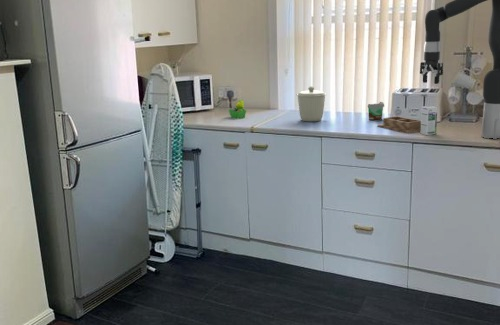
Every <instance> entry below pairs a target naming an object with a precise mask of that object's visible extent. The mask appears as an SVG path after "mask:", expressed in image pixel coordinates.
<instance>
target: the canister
mask: <svg viewBox="0 0 500 325" xmlns="http://www.w3.org/2000/svg"><path fill="white" fill-rule="evenodd" d="M307 89H308V90H302V91H300V92H298V93H297V94H296V96H297V103H298V112H299V116H300V120H301V121H304V122H319V121H321V120H322V119H323V117H324V116H323V115H324V109H325V99H326V96H327V93H326V92H324V91H323V90H315V87H314V86H309V87H308V88H307Z"/></svg>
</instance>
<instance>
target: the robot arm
mask: <svg viewBox="0 0 500 325" xmlns="http://www.w3.org/2000/svg"><path fill="white" fill-rule="evenodd" d="M487 1H488V0H452V1H449V2H447V3H445V4H444V5H443V6H441V7H438V8H436V9H430V10H429V11H427V13H426V14H425V16H424V25H425V27H424V28H425V38H424V39H425V40H424V41H425V42H424V46H423V47H424V48H423V52H424V53H423V60H424V61H422V62H420V63H419V64H420V65H419V74H421V76H422V84H424V83H428V74H429V73H430V72H432V74H433V75H434V80H433V83H434V84H435V85H438V84H439V83H440V76H443V75H444V63H443V62H439V61H440V57H441V31H440V23H441V22H444V21H446V20H448V19H450V18H452V17H454V16H457V15H460V14H462V13H464V12H467V11H468V10H470V9H472V8H474V7H475V6H477V5H479V4H482V3H484V2H487ZM490 14H491V15H490V19H489V24H488V40H487V41H488V47H489V49H490V52H491V55H492V59H493V60H492V61H493V63H492V64H493V65H492V69H491V70H489V71H487V72H485V76H483V77H484V78H483V88H482V95H483V101H484V102H483V111H482V121H481V122H482V123H481V124H482V125H481V135H480V136H482V138H483V137H484V139H489V138H493V140H498V139H497V138H499V139H500V0H491V13H490Z"/></svg>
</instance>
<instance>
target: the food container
mask: <svg viewBox="0 0 500 325" xmlns="http://www.w3.org/2000/svg"><path fill="white" fill-rule="evenodd" d="M384 107H385V103H384V102H383V101H379V102H378V103H368V104H367V108H368V121H382V118H383V112H384Z"/></svg>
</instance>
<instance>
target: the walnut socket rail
mask: <svg viewBox="0 0 500 325" xmlns="http://www.w3.org/2000/svg"><path fill="white" fill-rule="evenodd" d="M377 127H379V128H382V129H386V130H387V129H388V130H391V131H395V132H401V133H405V134H412V133H418V132H420V133H421V119H420V120H419V119H413V118H408V117H403V116H398V115H397V116H396V115H395V116H390V117H383V123H381V124H377Z"/></svg>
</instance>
